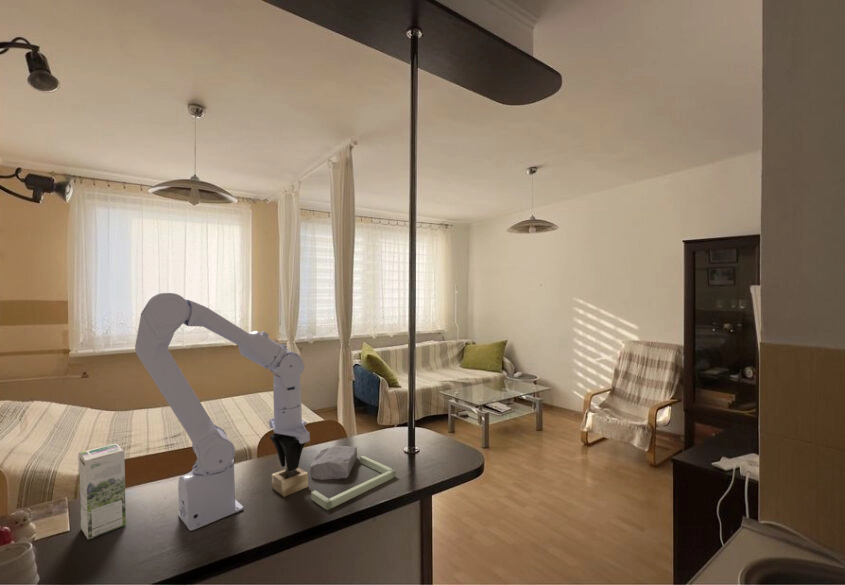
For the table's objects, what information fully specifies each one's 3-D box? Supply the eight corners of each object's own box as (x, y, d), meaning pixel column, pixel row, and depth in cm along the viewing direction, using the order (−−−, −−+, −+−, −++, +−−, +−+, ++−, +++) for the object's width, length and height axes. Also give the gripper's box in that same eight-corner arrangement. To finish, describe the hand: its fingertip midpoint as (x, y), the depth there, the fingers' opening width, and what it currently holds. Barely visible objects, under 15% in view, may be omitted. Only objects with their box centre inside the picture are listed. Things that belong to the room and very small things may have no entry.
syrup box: (118, 515, 77) (115, 441, 77) (127, 526, 74) (124, 448, 73) (80, 529, 73) (77, 451, 73) (87, 541, 69) (84, 459, 69)
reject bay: (327, 510, 77) (327, 502, 77) (296, 489, 85) (296, 482, 85) (395, 476, 90) (395, 470, 90) (363, 461, 98) (363, 455, 98)
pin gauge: (298, 475, 86) (297, 439, 86) (287, 479, 85) (286, 442, 85) (294, 472, 88) (293, 436, 88) (283, 475, 87) (282, 439, 87)
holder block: (284, 496, 82) (283, 482, 82) (272, 487, 86) (271, 474, 86) (308, 486, 86) (307, 473, 86) (295, 478, 90) (295, 465, 90)
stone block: (308, 488, 90) (351, 479, 89) (304, 467, 90) (346, 458, 90) (322, 466, 101) (360, 458, 101) (318, 448, 102) (356, 439, 101)
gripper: (321, 407, 84) (323, 470, 84) (288, 395, 94) (290, 452, 94) (290, 416, 79) (292, 483, 79) (259, 402, 89) (261, 462, 89)
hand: (289, 467), depth 86 cm, fingers closed on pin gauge, 2 cm apart
